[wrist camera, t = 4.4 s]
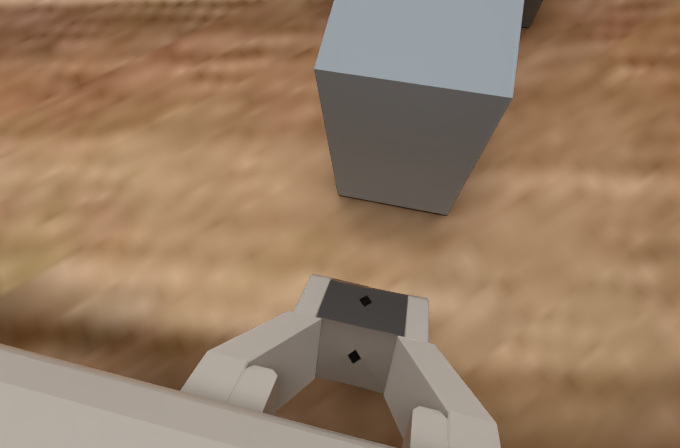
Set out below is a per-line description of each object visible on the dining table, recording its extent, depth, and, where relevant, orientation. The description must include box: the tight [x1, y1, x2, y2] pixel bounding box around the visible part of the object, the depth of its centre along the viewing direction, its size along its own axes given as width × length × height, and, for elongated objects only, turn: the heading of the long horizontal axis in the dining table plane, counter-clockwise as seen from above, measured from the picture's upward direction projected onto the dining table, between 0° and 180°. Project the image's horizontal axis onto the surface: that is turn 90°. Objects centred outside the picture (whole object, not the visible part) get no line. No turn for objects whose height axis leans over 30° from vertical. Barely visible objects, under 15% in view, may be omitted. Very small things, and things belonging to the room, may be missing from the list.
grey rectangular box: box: [314, 0, 524, 215], centre depth 15 cm, size 12×4×8 cm, turn 167°
